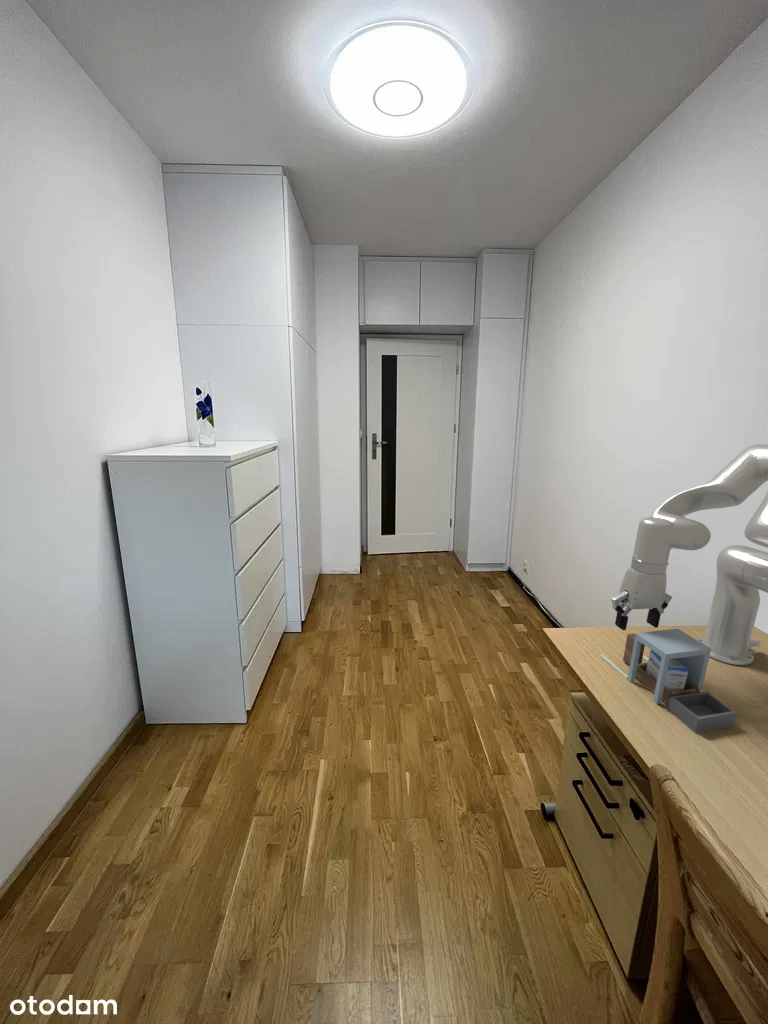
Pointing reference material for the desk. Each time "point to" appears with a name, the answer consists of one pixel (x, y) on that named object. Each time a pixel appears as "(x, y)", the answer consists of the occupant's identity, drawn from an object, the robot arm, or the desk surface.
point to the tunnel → (672, 656)
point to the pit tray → (702, 711)
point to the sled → (646, 678)
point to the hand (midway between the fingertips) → (636, 626)
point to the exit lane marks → (617, 667)
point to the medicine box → (668, 672)
